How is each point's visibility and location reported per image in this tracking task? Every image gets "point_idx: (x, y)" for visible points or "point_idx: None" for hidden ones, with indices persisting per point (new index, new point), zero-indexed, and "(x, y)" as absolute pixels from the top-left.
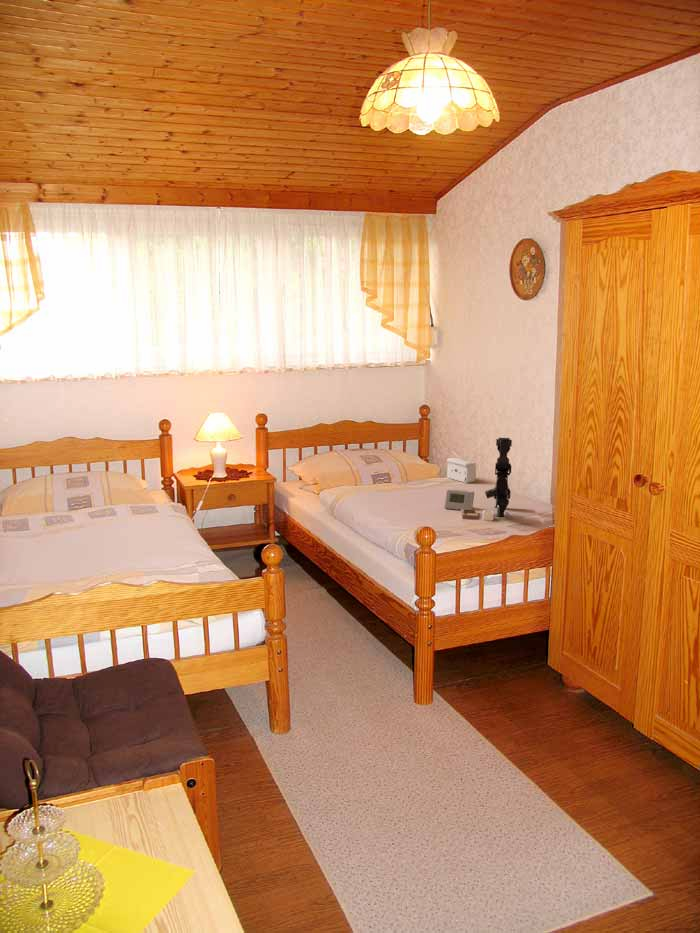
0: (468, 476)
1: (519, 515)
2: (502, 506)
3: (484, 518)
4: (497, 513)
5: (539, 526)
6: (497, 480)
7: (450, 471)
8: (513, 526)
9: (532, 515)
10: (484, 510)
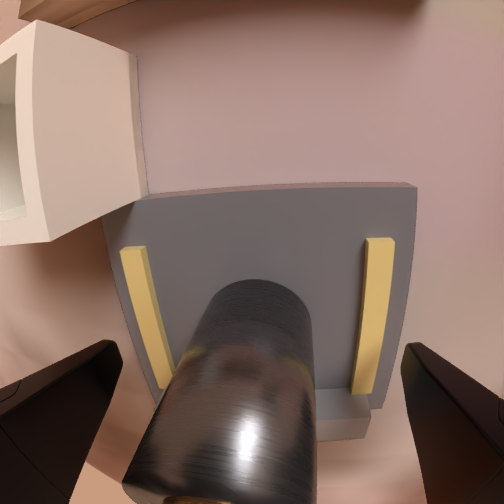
0: None
1: (413, 452)
2: (10, 456)
3: (7, 110)
4: (216, 315)
5: (122, 479)
6: None
7: None
8: (33, 369)
9: (398, 493)
10: (25, 54)
